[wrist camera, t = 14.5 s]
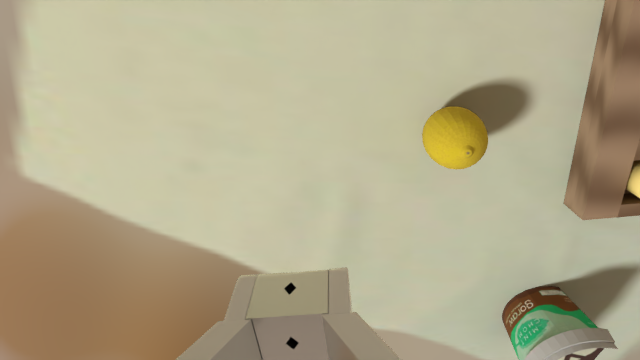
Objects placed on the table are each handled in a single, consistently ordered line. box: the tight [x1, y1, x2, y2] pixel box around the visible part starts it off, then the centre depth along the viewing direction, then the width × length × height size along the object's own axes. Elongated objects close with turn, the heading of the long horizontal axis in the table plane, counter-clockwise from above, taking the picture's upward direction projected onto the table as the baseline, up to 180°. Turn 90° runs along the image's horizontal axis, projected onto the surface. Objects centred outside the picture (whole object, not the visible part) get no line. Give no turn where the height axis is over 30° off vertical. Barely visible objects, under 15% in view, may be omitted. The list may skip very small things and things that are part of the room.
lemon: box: [422, 107, 488, 169], centre depth 34 cm, size 6×6×8 cm
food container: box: [502, 286, 618, 360], centre depth 45 cm, size 12×6×10 cm, turn 165°
